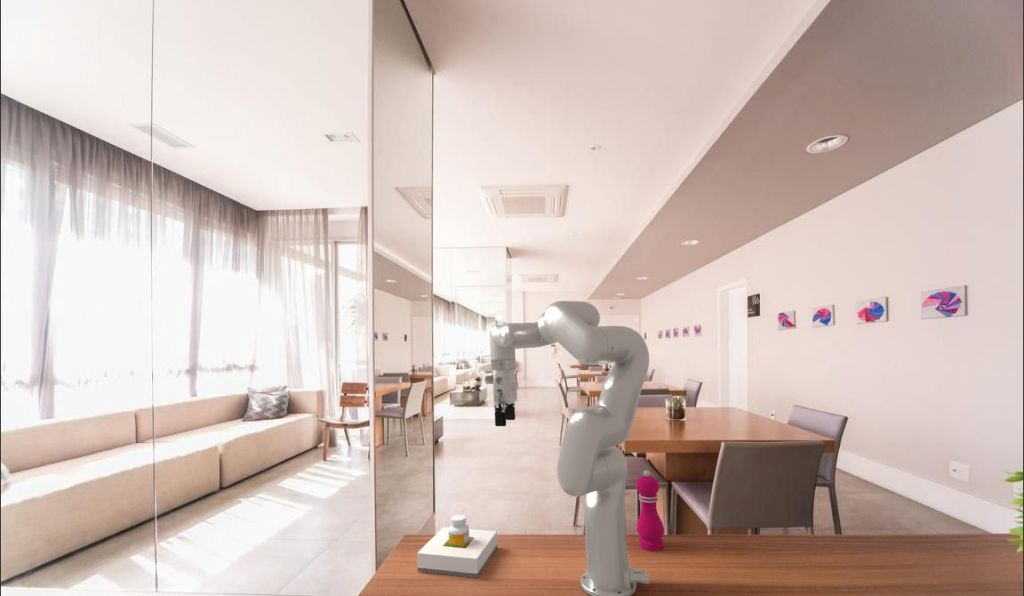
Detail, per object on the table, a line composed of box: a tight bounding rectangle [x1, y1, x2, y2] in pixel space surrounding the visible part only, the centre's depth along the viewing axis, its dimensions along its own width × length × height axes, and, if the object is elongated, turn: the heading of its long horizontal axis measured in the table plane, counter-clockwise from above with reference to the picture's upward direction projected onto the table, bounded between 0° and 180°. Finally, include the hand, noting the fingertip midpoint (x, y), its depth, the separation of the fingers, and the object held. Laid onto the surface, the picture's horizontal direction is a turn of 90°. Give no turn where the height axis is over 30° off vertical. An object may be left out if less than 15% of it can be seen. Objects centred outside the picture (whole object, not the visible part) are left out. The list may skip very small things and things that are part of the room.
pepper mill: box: [635, 469, 665, 552], centre depth 125 cm, size 7×7×20 cm
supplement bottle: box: [449, 514, 470, 548], centre depth 121 cm, size 5×5×10 cm
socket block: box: [416, 526, 498, 579], centre depth 121 cm, size 16×16×4 cm
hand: (505, 422), depth 137 cm, fingers open, 9 cm apart
